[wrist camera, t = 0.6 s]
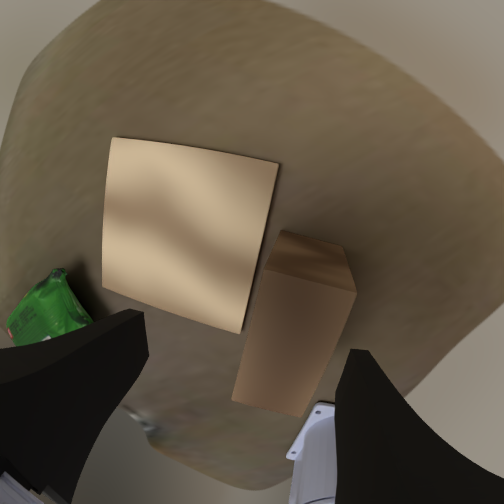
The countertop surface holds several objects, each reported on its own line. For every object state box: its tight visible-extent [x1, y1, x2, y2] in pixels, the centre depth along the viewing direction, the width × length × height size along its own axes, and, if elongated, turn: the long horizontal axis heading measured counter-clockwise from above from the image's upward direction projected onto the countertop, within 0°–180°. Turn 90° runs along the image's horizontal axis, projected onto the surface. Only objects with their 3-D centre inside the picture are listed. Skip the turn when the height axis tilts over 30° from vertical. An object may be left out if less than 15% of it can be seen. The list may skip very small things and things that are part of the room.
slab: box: [231, 230, 357, 417], centre depth 16 cm, size 4×8×7 cm, turn 168°
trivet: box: [102, 137, 279, 334], centre depth 20 cm, size 12×12×1 cm
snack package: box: [6, 268, 94, 346], centre depth 23 cm, size 7×16×5 cm, turn 121°
